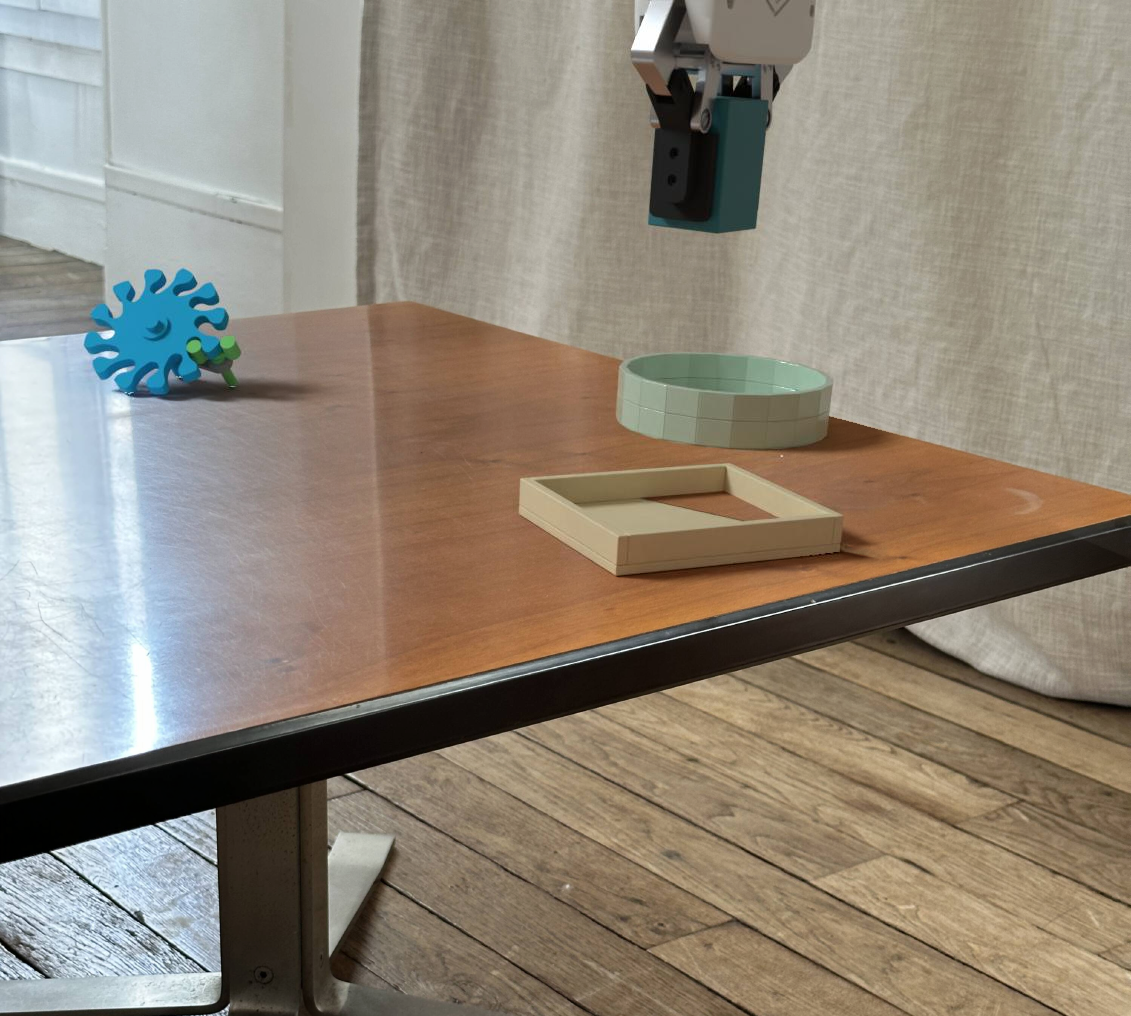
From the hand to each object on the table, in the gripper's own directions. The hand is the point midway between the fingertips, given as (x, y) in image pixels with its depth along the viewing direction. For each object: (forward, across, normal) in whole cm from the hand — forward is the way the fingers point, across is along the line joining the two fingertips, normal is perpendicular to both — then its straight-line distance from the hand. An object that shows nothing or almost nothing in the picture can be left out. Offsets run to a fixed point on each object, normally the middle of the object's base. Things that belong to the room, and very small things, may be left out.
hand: (704, 212), depth 79 cm
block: (+1, 0, 0) cm, 1 cm away
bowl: (+16, +22, +9) cm, 29 cm away
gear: (+16, +4, +43) cm, 47 cm away
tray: (+16, -1, -1) cm, 16 cm away
